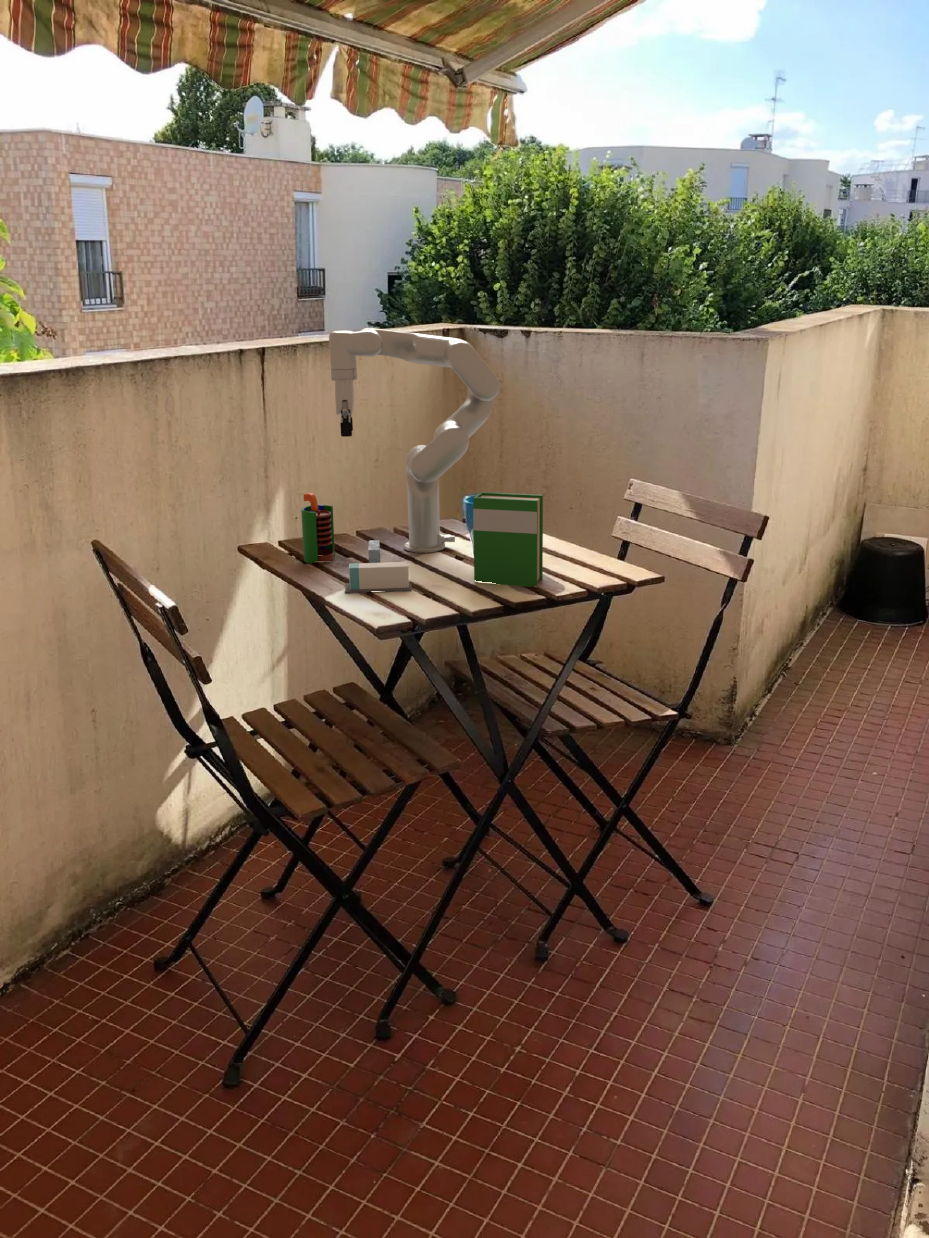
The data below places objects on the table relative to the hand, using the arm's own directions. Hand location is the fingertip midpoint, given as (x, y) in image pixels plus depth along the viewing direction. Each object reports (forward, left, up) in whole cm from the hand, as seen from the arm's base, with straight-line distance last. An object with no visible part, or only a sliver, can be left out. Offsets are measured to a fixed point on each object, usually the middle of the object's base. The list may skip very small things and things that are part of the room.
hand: (347, 433), depth 325 cm
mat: (-8, +38, -36) cm, 53 cm away
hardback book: (-44, +36, -36) cm, 67 cm away
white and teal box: (-8, +38, -36) cm, 53 cm away
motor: (+10, +7, -36) cm, 38 cm away
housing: (-7, +25, -36) cm, 45 cm away
